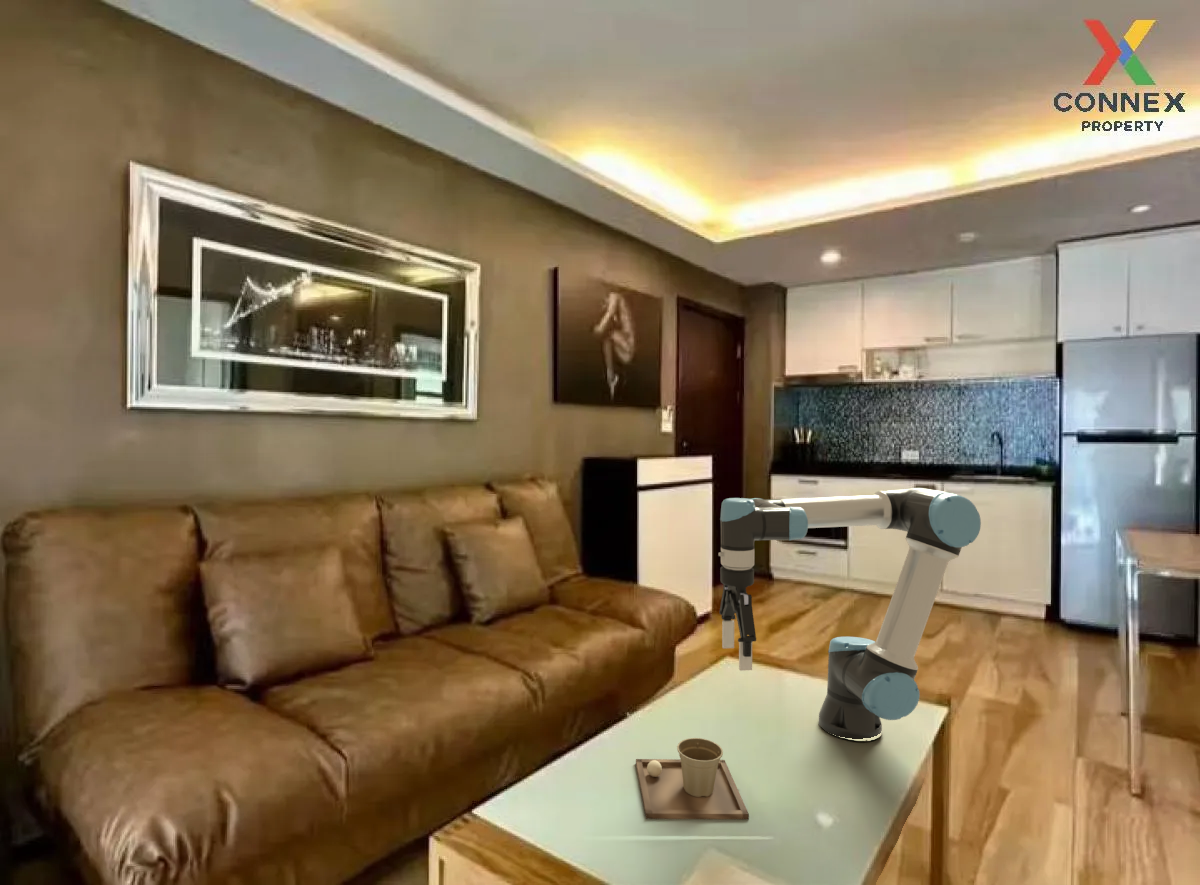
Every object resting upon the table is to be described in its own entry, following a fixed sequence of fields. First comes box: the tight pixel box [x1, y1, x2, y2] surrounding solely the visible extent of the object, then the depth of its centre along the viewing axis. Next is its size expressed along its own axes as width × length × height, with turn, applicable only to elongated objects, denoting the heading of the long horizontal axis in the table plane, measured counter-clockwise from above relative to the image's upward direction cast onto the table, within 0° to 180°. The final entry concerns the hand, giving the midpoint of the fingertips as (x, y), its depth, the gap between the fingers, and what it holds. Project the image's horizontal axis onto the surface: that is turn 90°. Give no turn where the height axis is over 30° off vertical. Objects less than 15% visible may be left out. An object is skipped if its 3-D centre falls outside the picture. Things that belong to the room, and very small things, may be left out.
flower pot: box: [676, 737, 724, 797], centre depth 136 cm, size 9×9×9 cm
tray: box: [635, 758, 750, 820], centre depth 136 cm, size 20×20×2 cm
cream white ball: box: [647, 760, 662, 777], centre depth 140 cm, size 3×3×3 cm
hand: (736, 658), depth 149 cm, fingers open, 13 cm apart
